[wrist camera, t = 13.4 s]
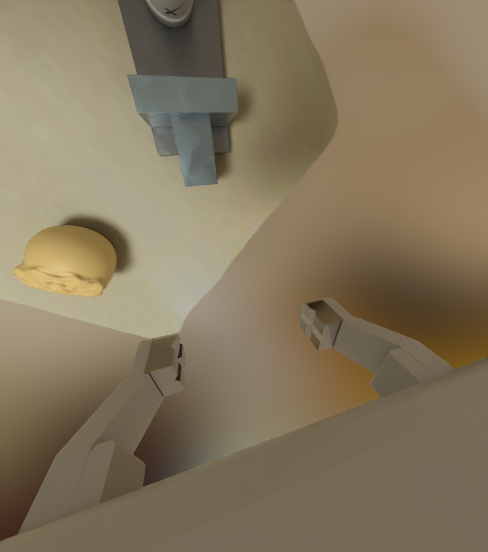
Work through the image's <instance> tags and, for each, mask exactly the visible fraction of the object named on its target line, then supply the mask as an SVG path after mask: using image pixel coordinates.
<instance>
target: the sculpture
mask: <svg viewBox="0 0 488 552" xmlns="http://www.w3.org/2000/svg"><path fill="white" fill-rule="evenodd" d="M116 263H117V257H116V252H115V249H114V247H113V246H112V244H111V243H110V242H109V241H108V240H107V239H106V238H105V237H104V236H102V235H101V234H99V233H97V232H95V231H93V230H90V229H87V228H84V227H79V226H70V225H62V226H54V227H50V228H47V229H44V230H42V231H40V232H38V233H37V234H36V235H35V236H33V237H32V238H31V240H30V241H29V242H28V244H27V246H26V249H25V252H24V259H23V263H22V264H20V265H19V266H17V267H16V268H14V270H13V273H14V275H15V276H16V277H17V278H19V279H21V280H22V281H23V282H24V283H25V284H26V285H27V286H29V287H33V288H38V289H43V290H47V291H50V292H55V293H59V294H67V295H82V296H90V297H96V296H100V295H101V294H102V292H103V290H104V289H105V288H106V287H107V285H108V283H109V282H110V280H111V279H112V277H113V274H114V271H115V267H116Z"/></svg>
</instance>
